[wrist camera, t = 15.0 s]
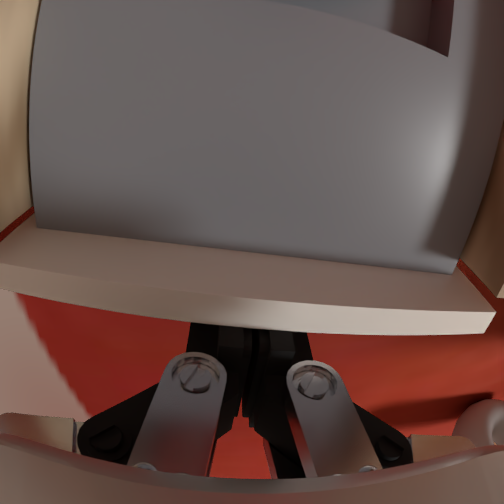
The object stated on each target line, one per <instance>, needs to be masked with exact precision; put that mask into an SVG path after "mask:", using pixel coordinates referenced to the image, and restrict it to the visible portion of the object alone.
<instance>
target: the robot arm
mask: <svg viewBox="0 0 504 504" xmlns="http://www.w3.org/2000/svg"><path fill="white" fill-rule="evenodd" d="M241 398H242V416H243V417H249V427H254V430H255V431H256V432H257V433H258V434H260V435H261V436H262V437H263V446H264V450H265V454H266V458H267V462H268V466H269V470H270V474H271V478H272V479H233V478H216V477H209V476H210V472H211V467H212V463H213V458H214V454H215V449H216V445H217V439H218V438H220V437H221V436H223V435H224V434H225V433H227V432H228V431H229V430H231V428H232V424H233V419H234V417H237V415H238V411H239V407H240V403H241ZM0 504H504V445H488V446H482V447H475V445H474V444H473V443H472V442H471V440H469V439H467V438H466V437H462V436H434V435H413V434H411V435H410V436H409V437H405V436H404V435H403V434H402V433H400V432H399V431H398V430H396V429H394V428H393V427H391V426H389V425H388V424H386V423H385V422H383V421H381V420H380V419H378V418H377V417H375V416H374V415H372V414H370V413H369V412H367V411H366V410H364V409H363V408H361V407H360V406H358V405H356V404H355V403H353V402H352V400H351V398H350V396H349V394H348V392H347V389H346V387H345V385H344V383H343V381H342V379H341V377H340V376H339V374H338V373H337V372H336V371H335V370H334V369H333V368H332V367H330V366H328V365H326V364H325V363H322V362H318V361H313V358H312V353H311V349H310V345H309V340H308V336H307V332H295V331H282V330H267V329H255V328H243V327H234V326H224V325H213V324H204V323H195V322H191V325H190V331H189V337H188V343H187V349H186V353H183V354H180V355H178V356H176V357H174V358H173V359H172V360H170V362H169V363H168V365H167V366H166V368H165V370H164V373H163V375H162V378H161V380H160V382H159V383H157V384H155V385H154V386H152V387H150V388H148V389H146V390H144V391H142V392H140V393H139V394H137V395H135V396H133V397H131V398H129V399H127V400H125V401H123V402H121V403H119V404H117V405H115V406H113V407H111V408H109V409H107V410H105V411H103V412H101V413H99V414H97V415H95V416H93V417H91V418H90V419H88V420H87V421H86V422H75V420H74V419H73V418H60V417H48V416H37V415H28V414H19V413H4V414H1V415H0Z"/></svg>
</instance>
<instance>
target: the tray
mask: <svg viewBox="0 0 504 504" xmlns="http://www.w3.org/2000/svg"><path fill="white" fill-rule="evenodd" d="M503 119H504V0H42V2H41V7H40V12H39V18H38V24H37V30H36V37H35V44H34V52H33V61H32V72H31V85H30V107H29V145H30V167H31V182H32V193H33V202H34V211H35V213H34V214H33V215H31V216H30V217H29V218H28V219H27V220H25V221H24V222H23V223H22V224H21V225H19V226H18V227H17V228H16V229H15V230H14V231H12V232H11V233H10V234H9V235H8V236H7V237H6V238H4V239H3V240H2V241H1V242H0V289H4V290H9V291H13V292H17V293H22V294H26V295H31V296H35V297H40V298H45V299H50V300H55V301H60V302H65V303H70V304H75V305H81V306H86V307H92V308H98V309H104V310H110V311H116V312H122V313H128V314H135V315H142V316H149V317H156V318H163V319H171V320H179V321H187V322H195V323H204V324H213V325H224V326H234V327H243V328H255V329H267V330H282V331H295V332H312V333H333V334H362V335H452V334H479V333H484V332H485V331H486V329H487V327H488V326H489V324H490V322H491V321H492V319H493V317H494V315H495V314H496V311H495V310H494V309H493V307H492V306H491V305H490V304H489V303H488V301H487V300H486V299H485V298H484V297H483V295H482V294H481V293H480V292H479V291H478V290H477V289H476V287H475V286H474V285H473V284H472V283H471V282H470V281H469V279H468V278H467V277H466V276H465V275H464V274H463V273H462V272H461V271H460V270H459V268H458V267H457V266H456V264H457V262H458V260H459V257H460V255H461V253H462V250H463V248H464V246H465V243H466V241H467V238H468V236H469V233H470V231H471V228H472V225H473V223H474V220H475V217H476V214H477V212H478V209H479V206H480V203H481V200H482V197H483V194H484V191H485V188H486V185H487V181H488V178H489V175H490V171H491V168H492V164H493V161H494V157H495V153H496V149H497V145H498V141H499V137H500V133H501V128H502V124H503Z"/></svg>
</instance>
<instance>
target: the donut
mask: <svg viewBox="0 0 504 504" xmlns="http://www.w3.org/2000/svg"><path fill="white" fill-rule="evenodd" d="M452 436H462V437H466V438H467V439H469V440H471V442H472V443H473V444H474V445H475V447H482V446H488V445H494V442H495V443H496V444H497V445H504V401H502V400H496V399H485V400H482V401H479V402H477V403H474V404H472V405H471V406H469V407H468V408H467V409H466V410H465V411H464V412H463V414H462V415H461V416H460V417H459V418H458V420H457V422H456V425H455V428H454V430H453V433H452Z"/></svg>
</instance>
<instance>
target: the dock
mask: <svg viewBox="0 0 504 504" xmlns="http://www.w3.org/2000/svg"><path fill="white" fill-rule="evenodd" d="M41 2H42V0H0V232H1V231H2V230H3V229H5V228H6V227H7V226H8V225H9V224H11V223H12V222H13V221H14V220H16V219H17V218H18V217H19V216H21V215H22V214H23V213H24V212H26V211H27V210H28V209H30V208H31V207H32V206H33V205H34V202H33V193H32V182H31V167H30V145H29V107H30V85H31V72H32V61H33V52H34V44H35V37H36V30H37V24H38V18H39V12H40V7H41ZM459 258H460V259H461V260H462V261H463V262H464V263H465V264H466V265H467V266H468V267H469V268H470V269H471V270H472V271H473V272H474V273H475V274H476V275H477V277H478V278H479V279H480V280H481V281H482V282H483V283H484V284H485V285H486V286H487V287H488V289H489V290H490V291H491V292H492V293H493V294H494V295H495V296H496V298H504V119H503V124H502V128H501V133H500V137H499V141H498V145H497V149H496V153H495V157H494V161H493V164H492V168H491V171H490V175H489V178H488V181H487V185H486V188H485V191H484V194H483V197H482V200H481V203H480V206H479V209H478V212H477V214H476V217H475V220H474V223H473V225H472V228H471V231H470V233H469V236H468V238H467V241H466V243H465V246H464V248H463V250H462V253H461V255H460V257H459Z"/></svg>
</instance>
